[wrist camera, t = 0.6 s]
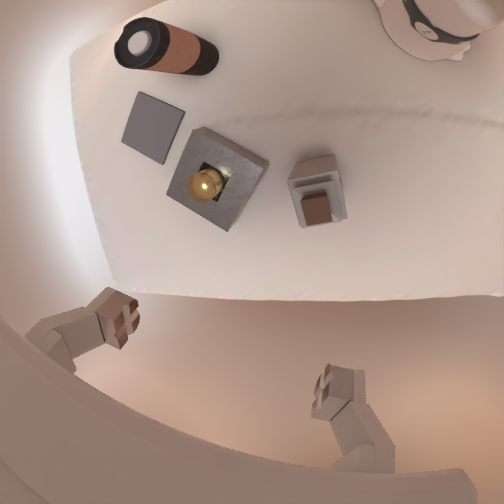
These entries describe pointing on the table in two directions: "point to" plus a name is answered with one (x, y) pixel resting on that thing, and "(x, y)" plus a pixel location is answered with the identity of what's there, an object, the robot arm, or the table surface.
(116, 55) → the travel mug
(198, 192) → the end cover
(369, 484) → the robot arm
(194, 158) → the housing
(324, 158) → the grey square bottle
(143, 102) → the mat
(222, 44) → the table surface
